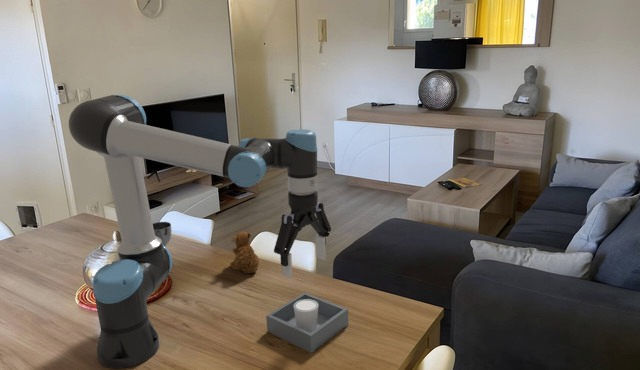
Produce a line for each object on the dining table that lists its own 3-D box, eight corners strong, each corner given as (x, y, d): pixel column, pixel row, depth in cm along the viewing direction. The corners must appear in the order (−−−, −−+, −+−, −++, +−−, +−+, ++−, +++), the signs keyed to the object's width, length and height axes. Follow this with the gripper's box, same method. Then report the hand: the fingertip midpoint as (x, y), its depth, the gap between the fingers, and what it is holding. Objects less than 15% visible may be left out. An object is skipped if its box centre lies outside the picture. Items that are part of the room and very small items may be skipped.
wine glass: (180, 262, 179) (175, 224, 175) (162, 270, 173) (157, 231, 169) (165, 257, 184) (160, 220, 179) (148, 266, 177) (142, 227, 173)
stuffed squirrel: (256, 258, 181) (253, 225, 177) (265, 274, 168) (263, 239, 164) (229, 263, 177) (226, 229, 174) (236, 280, 165) (233, 244, 161)
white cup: (316, 335, 132) (315, 312, 130) (291, 333, 133) (290, 310, 131) (321, 321, 138) (320, 299, 136) (297, 319, 139) (296, 297, 137)
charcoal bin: (311, 352, 125) (310, 335, 124) (267, 331, 135) (266, 315, 134) (348, 324, 137) (348, 309, 136) (305, 307, 147) (304, 292, 145)
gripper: (279, 206, 113) (282, 289, 119) (343, 182, 132) (343, 254, 138) (256, 200, 118) (261, 280, 124) (322, 177, 136) (322, 247, 142)
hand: (304, 266), depth 131 cm, fingers open, 13 cm apart
